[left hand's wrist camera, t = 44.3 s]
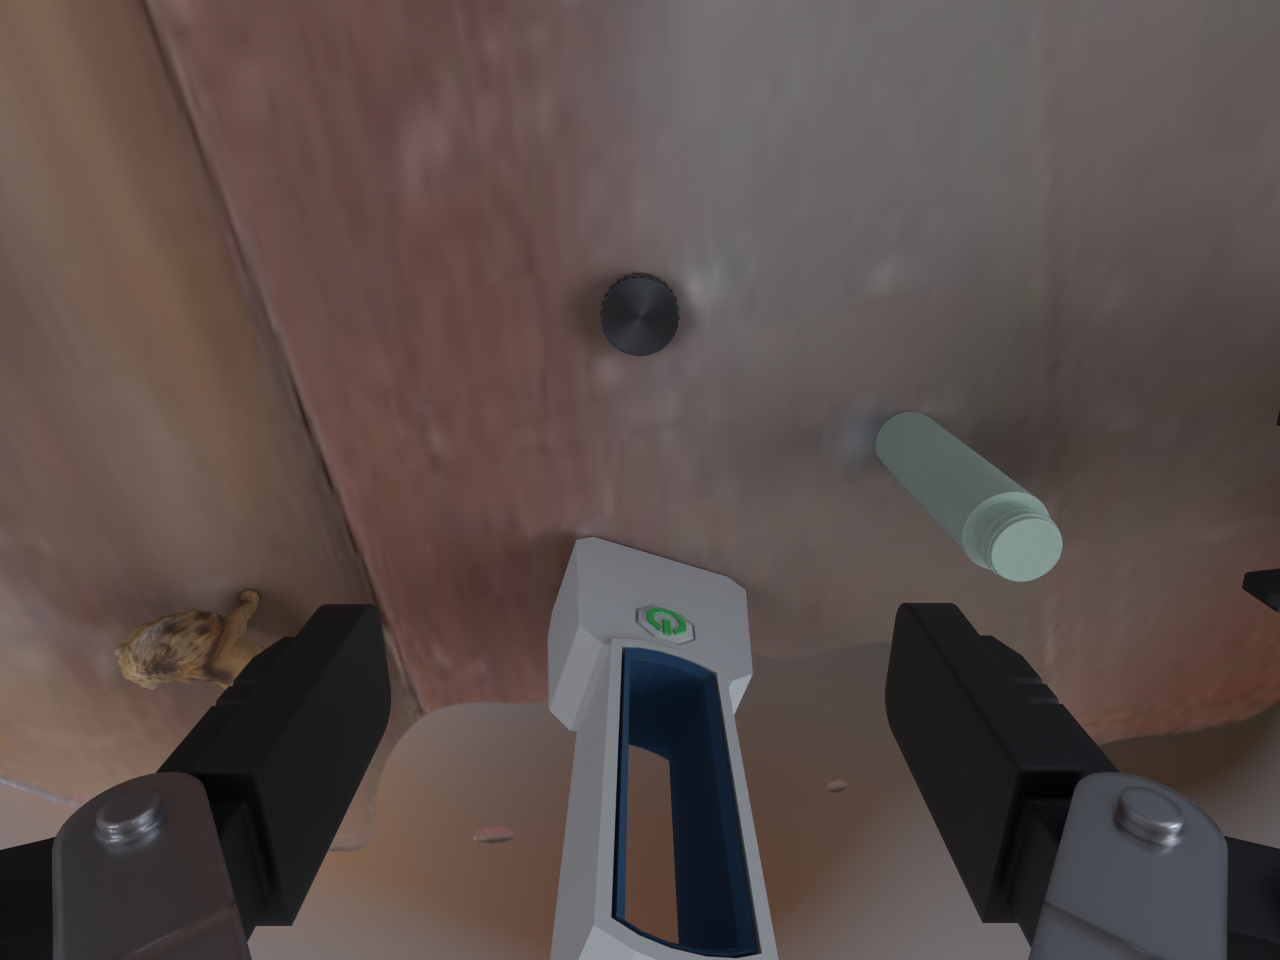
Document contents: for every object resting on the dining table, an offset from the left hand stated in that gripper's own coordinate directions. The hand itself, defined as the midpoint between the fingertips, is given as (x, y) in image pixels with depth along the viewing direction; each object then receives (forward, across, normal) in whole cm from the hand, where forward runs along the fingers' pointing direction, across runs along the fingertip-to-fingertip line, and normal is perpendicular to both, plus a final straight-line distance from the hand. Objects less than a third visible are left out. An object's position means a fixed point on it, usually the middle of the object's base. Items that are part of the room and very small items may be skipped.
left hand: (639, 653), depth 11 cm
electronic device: (+37, 0, -20) cm, 42 cm away
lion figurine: (+37, -27, -24) cm, 52 cm away
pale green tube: (+37, +18, -9) cm, 42 cm away
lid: (+35, 0, 0) cm, 35 cm away
